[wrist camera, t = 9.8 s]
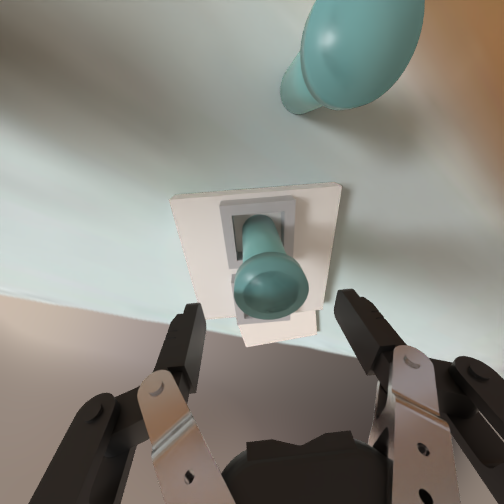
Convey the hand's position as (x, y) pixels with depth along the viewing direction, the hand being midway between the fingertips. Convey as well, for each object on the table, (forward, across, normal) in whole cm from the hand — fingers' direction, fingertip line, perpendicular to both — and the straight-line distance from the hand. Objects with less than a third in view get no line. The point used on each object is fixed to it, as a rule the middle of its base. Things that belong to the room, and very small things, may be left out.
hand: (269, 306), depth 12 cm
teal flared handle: (+11, 0, 0) cm, 11 cm away
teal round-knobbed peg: (+13, -5, -12) cm, 18 cm away
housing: (+13, 0, +5) cm, 14 cm away
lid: (+13, -3, +18) cm, 22 cm away
